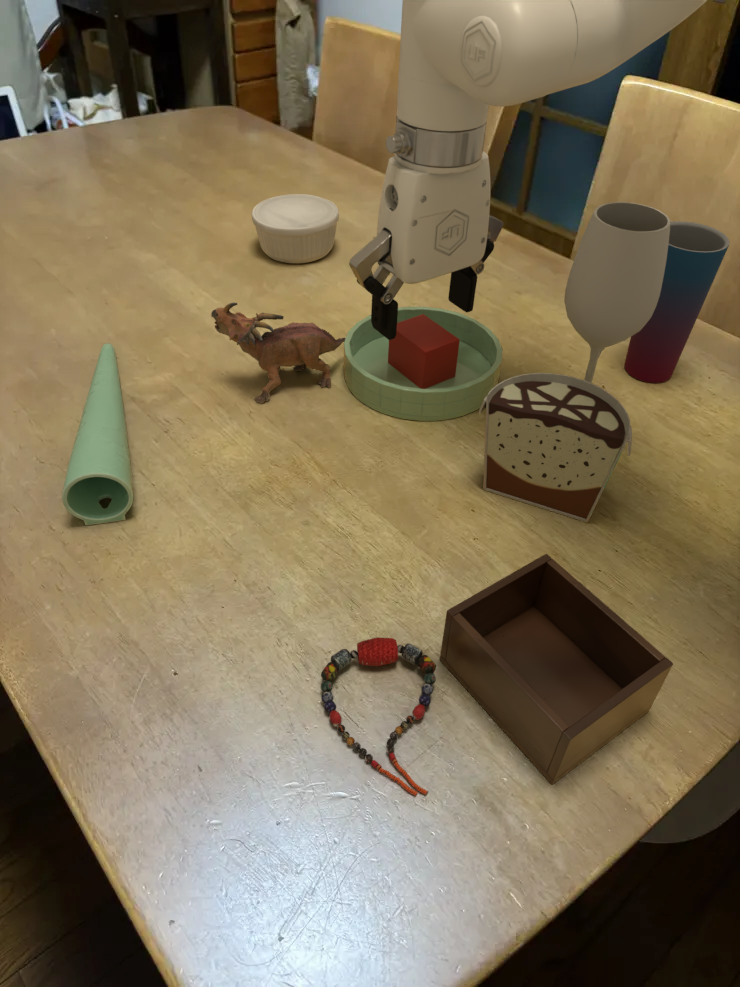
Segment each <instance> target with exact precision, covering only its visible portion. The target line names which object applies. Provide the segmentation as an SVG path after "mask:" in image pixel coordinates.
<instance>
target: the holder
mask: <svg viewBox="0 0 740 987" xmlns="http://www.w3.org/2000/svg"><path fill="white" fill-rule="evenodd" d="M443 626H444V627H443V634H442V640H441V647H440V653H439V654H440V655H439V660H440V662H441V663H442V664H443V665H444V666H445V667H446V668H447V670H448V671H449V672H450V673H451V674H452V675H453V676H454V677H455V678H456V680H457V681H458V682H459V683H460V684H461V685H462V686H463V687H464V688H465V689H466V691H467V692H468V693H469V694H470V695H471V696H472V698H474V700H475V701H476V702H477V703H478V704H479V705H480V706H481V707H482V709H483V710H484V711H485V712H486V713H487V715H489V717H490V718H491V719H492V720H493V721H494V722H495V723H496V724H497V725H498V726H499V727H500V729H501V730H502V731H503V732H504V733H505V734H506V736H508V738H509V739H510V740H511V742H513V743H514V745H516V746H517V748H519V750H520V751H521V752H522V753H523V754H524V755H525V757H526V758H527V759H528V760H529V761H530V762H531V763H532V764H533V766H534V767H535V768H536V769H537V770H538V771H539V772H540V773H541V774H542V775H543V777H544V778H545V779H546V780H547V781H548V782H549V783H550V784H551V785H554V784H555V783H557V782H558V781H559V780H560V779H562V778H563V777H564V776H566V775H567V774H569V772H571V771H572V770H574V769H575V768H576V767H578V766H579V765H580V764H582V763H583V762H584V761H585V760H587V759H588V758H589V757H591V756H592V755H593V754H595V753H596V752H597V751H598V750H600V749H601V748H603V747H604V746H606V745H607V744H608V743H609V742H611V741H612V740H613V739H614V738H616V737H617V736H618V735H619V734H621V733H622V732H623V731H625V730H626V729H627V728H629V727H630V726H632V725H633V724H634V723H635V722H637V721H638V720H640V718H642V717H643V716H644V715H646V714H647V713H649V712H650V709H651V708H652V707H653V704H654V702H655V700H656V699H657V696H658V695H659V693H660V691H661V689H662V687H663V685H664V683H665V681H666V680H667V678H668V675H669V674H670V672H671V670H672V667H673V666H674V662H672V661H671V660H670V659H669V658H668V657H667V656H666V655H665V654H663V653H662V652H661V651H659V649H658V648H656V647H655V646H654V645H653V644H652V643H651V642H650V641H648V640H647V639H646V638H645V637H644V636H642V635H641V634H640V633H639V632H638V631H637V630H636V629H634V628H633V627H632V626H631V625H630V624H629V623H627V622H626V621H625V620H624V619H623V618H622V617H620V616H619V615H618V613H616V612H615V611H613V609H611V608H610V607H609V606H608V605H607V604H605V603H604V602H603V600H601V599H600V598H598V597H597V595H595V594H594V593H593V592H592V591H590V590H589V589H588V588H587V587H586V586H585V585H584V584H582V583H581V582H580V581H579V580H578V579H577V578H575V576H573V575H572V574H571V573H570V572H568V571H567V570H566V569H565V568H564V567H562V565H561V564H560V563H559V562H557V561H556V560H555V559H553V557H551V556H550V554H548V553H545V554H543V555H540V556H539V557H538V558H536V559H534V560H532V561H531V562H529V563H527V564H526V565H524V566H522V567H520V568H519V569H517V570H515V571H513V572H511V573H510V574H507V575H506V576H505V577H502V578H501V579H499V580H497V581H496V582H494V583H492V584H491V585H489V586H487V587H485V588H483V589H482V590H479V591H478V592H477V593H475V594H473V595H472V596H469V597H468V598H466V599H464V600H463V601H461V602H459V603H457V604H456V605H454V606H452V607H450V608H449V609H447V610H446V614H445V620H444V625H443Z"/></svg>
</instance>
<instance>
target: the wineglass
mask: <svg viewBox="0 0 740 987" xmlns="http://www.w3.org/2000/svg"><path fill="white" fill-rule="evenodd" d="M670 222H671V219H670V217H669V216H668V215H667V214H666V213H664V212H663V211H662V210H660V209H658V208H655V207H652V206H650V205H647V204H642V203H637V202H629V201H612V202H606V203H603V204H600V205H598V206H596V208H595V209H594V210H593V213H592V215H591V217H590V219H589V221H588V223H587V226H586V228H585V229H584V233H583V235H582V236H581V239H580V242H579V245H578V248H577V251H576V253H575V255H574V259H573V262H572V265H571V267H570V271H569V274H568V277H567V282H566V286H565V290H564V306H565V312H566V316H567V319H568V320H569V322H570V324H571V325H572V327H573V329H574V331H575V332H576V333H577V334H578V335H579V336H580V337H581V338H582V339H583V340H584V341H585V342H586V343H587V344H588V345H589V348H590V353H589V361H588V364H587V367H586V372H585V375H584V379H583V380H585V381H587V382H590V383H592V384H593V380H594V375H595V372H596V368H597V364H598V360H599V358H600V356H601V354H602V352H603V351H604V350H605V349H606V348H608V347H612V346H615V345H617V344H619V343H622V342H625V341H627V340H628V339H630V338H631V336H633V335H634V334H636V333H637V332H639V331H640V330H641V329H642V328H643V327H644V326H645V324H646V323H647V322H648V321H649V319H650V318H651V317H652V314H653V312H654V310H655V308H656V305H657V302H658V299H659V296H660V292H661V287H662V282H663V277H664V271H665V265H666V259H667V252H668V244H669V234H670Z"/></svg>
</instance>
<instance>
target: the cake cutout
mask: <svg viewBox="0 0 740 987" xmlns="http://www.w3.org/2000/svg"><path fill="white" fill-rule="evenodd" d="M484 409H485V424H484V425H485V427H484V428H485V429H484V452H483V454H484V456H483V479H482V480H483V481H482V482H483V484H482V490H483V491H486V492H489V493H492V494H495V495H498V496H500V497H501V496H502V497H505V498H508V499H511V500H514V501H517V502H520V503H524V504H526V505H530V506H533V507H535V508H540V509H543V510H545V511H549V512H552V513H555V514H559V515H561V516H565V517H567V518H571V519H574V520H577V521H581V522H583V523H587V524H588V523H589V521H590V519H591V516H592V515H593V513H594V511H595V509H596V507H597V504H598V503H599V500H600V498H601V496H602V494H603V492H604V490H605V488H606V486H607V484H608V482H609V480H610V478H611V476H612V474H613V471H614V470H615V468H616V465H617V463H618V461H619V459H620V458H621V456H622V453H623V451H624V449H625V448H626V445H627V444H628V445H627V457H630V456H631V451H632V443H633V442H632V440H633V430H632V429H633V428H632V425H631V419H630V416H629V413H628V411H627V410H626V408H625V407H624V405H623V404H622V403H621V402H620V401H619V400H618V398H616V397H615V396H614V395H612V393H610V392H608V391H607V390H605V389H604V388H602V387H601V386H598V385H596V384H594V383H593V382H592V383H590V382H587V381H585V380H584V379H581V378H578V377H576V376H571V375H566V374H562V373H561V374H560V373H553V372H531V373H524V374H518V375H515V376H511V377H509V378H506V379H503V381H501V382H498V384H497V385H496V386H495V387H494V388H492V389H491V391H490V392H489V393H488V395H487V396H486V397H485V399H484V400H483V402H482V405H481V407H480V408H479V409H478V414H481V413H482V412H483V410H484Z"/></svg>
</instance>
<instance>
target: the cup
mask: <svg viewBox="0 0 740 987" xmlns="http://www.w3.org/2000/svg"><path fill="white" fill-rule="evenodd" d="M729 247H730V239H729V237H728V236H727V235H726V234H725V233H724V232H722V231H721V230H719V229H716V228H715V227H712V226H709V225H707V224H703V223H698V222H693V221H683V220H681V221H680V220H675V221H670V234H669V244H668V252H667V259H666V265H665V271H664V277H663V282H662V287H661V292H660V296H659V299H658V302H657V305H656V308H655V310H654V312H653V314H652V317H651V318H650V319H649V321H648V322H647V323H646V324H645V326H644V327H643V328H642V329H641V330H640V331H639V332H637V333H636V334H634V335H633V336H631V337H630V338H629V343H628V348H627V352H626V356H625V359H624V370H625V372H626V373H627V374H628V375H629V376H630V377H632V378H633V379H636V380H638V381H641V382H644V383H650V384H660V383H665V382H667V381H669V380H670V379H671V378H672V376H673V374H674V372H675V370H676V368H677V365H678V363H679V360H680V358H681V356H682V353H683V351H684V349H685V347H686V344H687V343H688V340H689V338H690V336H691V333H692V330H693V328H694V327H695V324H696V321H697V320H698V317H699V314H700V313H701V311H702V308H703V306H704V303H705V301H706V299H707V297H708V294H709V292H710V290H711V287H712V285H713V283H714V280H715V279H716V276H717V274H718V272H719V269H720V267H721V265H722V262H723V260H724V257H725V255H726V253H727V251H728V249H729Z"/></svg>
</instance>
